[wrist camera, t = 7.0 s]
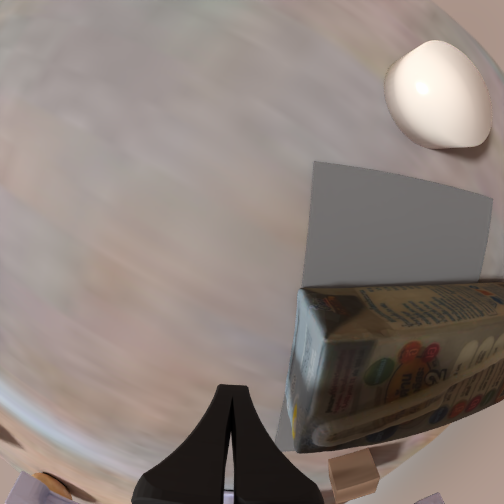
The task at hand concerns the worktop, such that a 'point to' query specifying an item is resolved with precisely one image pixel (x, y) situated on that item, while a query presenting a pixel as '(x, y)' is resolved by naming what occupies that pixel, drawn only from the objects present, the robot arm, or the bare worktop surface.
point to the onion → (53, 485)
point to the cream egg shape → (438, 97)
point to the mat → (388, 236)
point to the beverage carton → (392, 361)
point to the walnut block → (353, 475)
